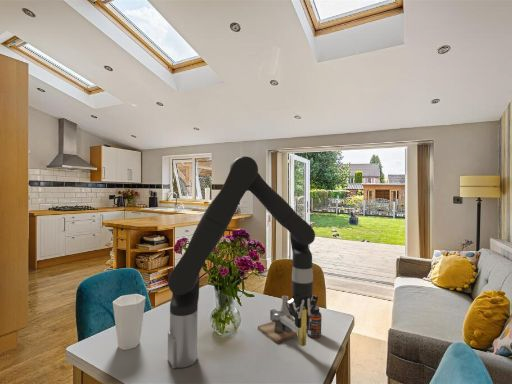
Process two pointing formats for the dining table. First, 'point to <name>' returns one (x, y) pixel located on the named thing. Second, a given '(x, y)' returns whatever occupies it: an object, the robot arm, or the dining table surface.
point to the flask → (285, 306)
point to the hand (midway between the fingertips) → (302, 325)
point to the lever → (292, 323)
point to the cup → (128, 320)
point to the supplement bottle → (314, 324)
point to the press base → (274, 335)
